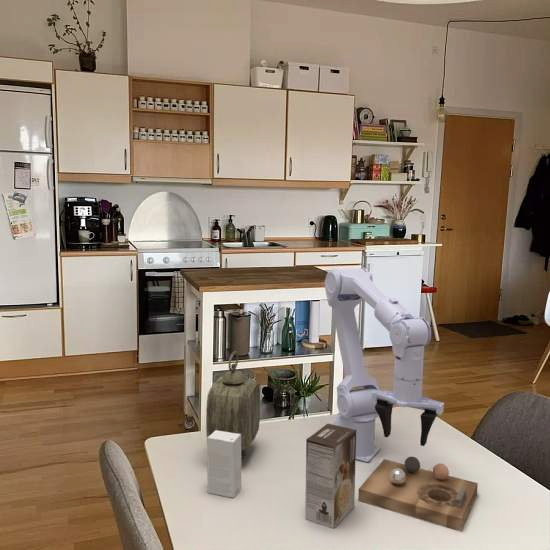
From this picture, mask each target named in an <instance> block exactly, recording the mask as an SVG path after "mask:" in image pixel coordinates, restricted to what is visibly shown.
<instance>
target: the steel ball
mask: <svg viewBox="0 0 550 550" xmlns="http://www.w3.org/2000/svg"><path fill="white" fill-rule="evenodd" d="M390 479H391V481H392V482H393V483H394V484H396V485H401V484H403V483H404V482H405V479H406V475H405V472H404V471H403V470H402V469H400V468H395V469H393V470H392V471H391V472H390Z"/></svg>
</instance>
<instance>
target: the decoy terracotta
mask: <svg viewBox="0 0 550 550" xmlns="http://www.w3.org/2000/svg"><path fill="white" fill-rule="evenodd" d="M432 472H433V474H434V476H435V477H436V478H437V479H439V480H444V479H446V478H447V477H448V476H450V475H449V474H450V471H449V468H448V467H447V465H445V464H444V463H437V464H435V465H434V466H433V468H432Z"/></svg>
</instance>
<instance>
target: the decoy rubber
mask: <svg viewBox="0 0 550 550" xmlns="http://www.w3.org/2000/svg"><path fill="white" fill-rule="evenodd" d="M404 464H405V468H406V469H407V470H408V471H409V472H416V471H418V470H419V468H420V467H421V462H420V460H419V458H417V457H416V456H409V457H407V458H406V459H405V461H404Z"/></svg>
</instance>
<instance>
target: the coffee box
mask: <svg viewBox="0 0 550 550" xmlns="http://www.w3.org/2000/svg"><path fill="white" fill-rule="evenodd" d="M356 431H357V430H354V429H350V428H346V427H342V426H337V425H333V424H332V423H327V424H325V425H324V426H322V427H321V428H319V430H317V431H316V432H314V433H312V434H311V435H310V436H309V437H307V438H306V439H305V441H306V447H305V454H306V455H305V502H304V503H305V510H304V511H305V513H304V517H305V519H306V520H308V521H311V522H315V523H317V524H320V525H321V526H326V527H328V528H331V529H335V528H336V527H337V526H338V525H339V524H340V523H341V522H342V521H343V519H344V518H345V517H346V516H347V515H348V514H349V513H350V511H352V509H353V508H355V494H356V493H355V490H356V489H355V488H356V485H355V484H356V460H357V459H356Z"/></svg>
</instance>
